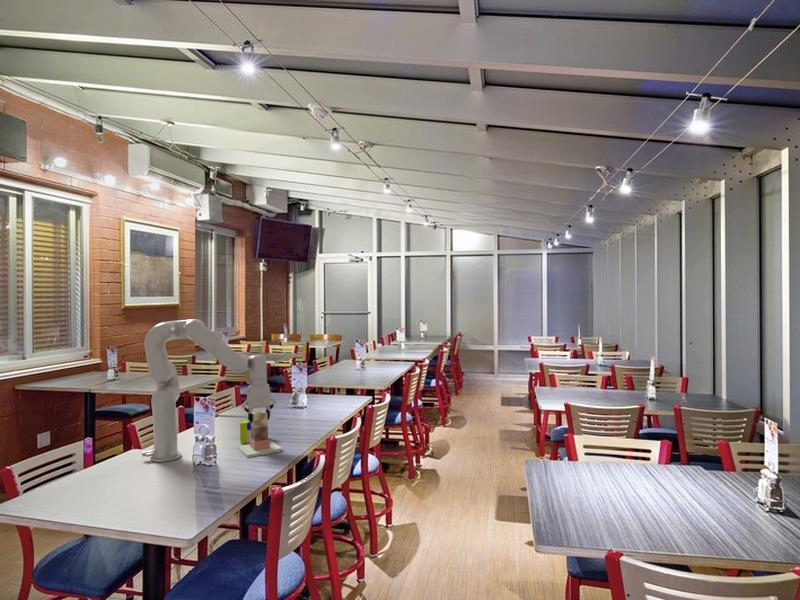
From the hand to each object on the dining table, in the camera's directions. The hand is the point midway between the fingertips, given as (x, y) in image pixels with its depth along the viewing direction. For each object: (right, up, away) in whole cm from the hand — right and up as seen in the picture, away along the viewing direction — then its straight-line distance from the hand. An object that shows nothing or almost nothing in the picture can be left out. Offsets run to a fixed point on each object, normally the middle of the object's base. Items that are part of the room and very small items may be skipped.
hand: (259, 420), depth 234 cm
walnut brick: (0, -9, 0) cm, 9 cm away
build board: (0, -14, 0) cm, 14 cm away
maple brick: (0, -3, 0) cm, 3 cm away
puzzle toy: (-7, -14, +16) cm, 22 cm away
